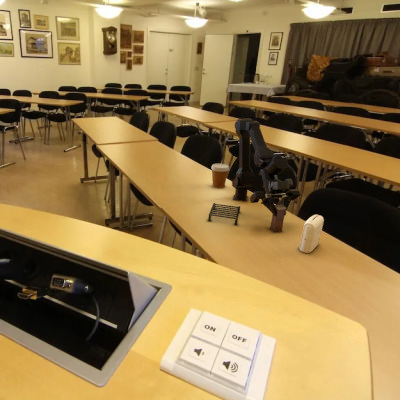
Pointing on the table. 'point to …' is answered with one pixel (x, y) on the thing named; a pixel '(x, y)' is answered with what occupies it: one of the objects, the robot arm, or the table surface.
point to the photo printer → (311, 233)
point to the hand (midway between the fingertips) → (280, 215)
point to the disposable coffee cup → (219, 175)
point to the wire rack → (224, 212)
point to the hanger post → (278, 219)
